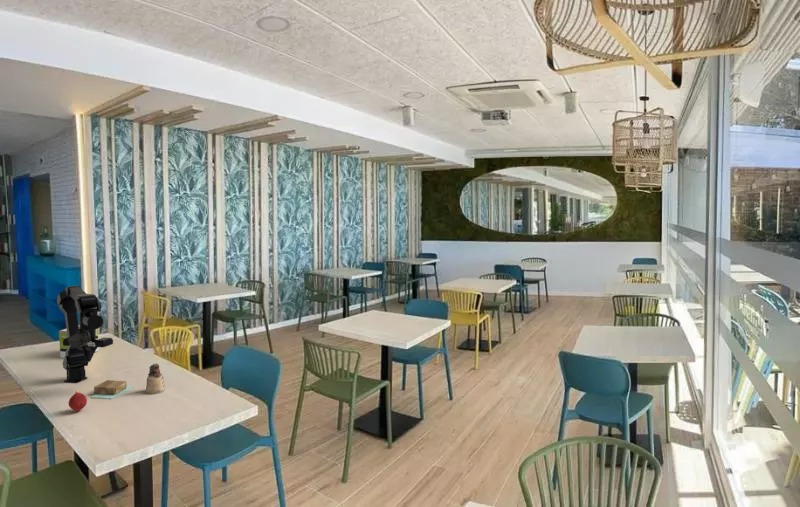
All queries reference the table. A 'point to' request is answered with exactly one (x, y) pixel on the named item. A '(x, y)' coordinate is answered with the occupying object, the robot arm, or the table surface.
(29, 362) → the table surface
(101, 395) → the mat
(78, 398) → the onion
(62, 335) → the tea box
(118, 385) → the menu stand
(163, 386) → the figurine
